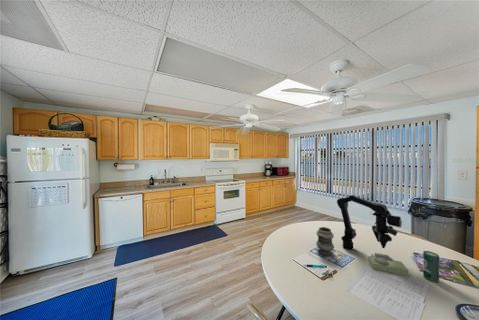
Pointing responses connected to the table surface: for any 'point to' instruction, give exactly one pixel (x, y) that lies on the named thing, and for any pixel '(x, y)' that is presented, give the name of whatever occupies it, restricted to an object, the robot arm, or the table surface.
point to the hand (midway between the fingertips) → (380, 244)
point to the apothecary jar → (325, 241)
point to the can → (431, 266)
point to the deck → (387, 265)
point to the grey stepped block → (381, 255)
